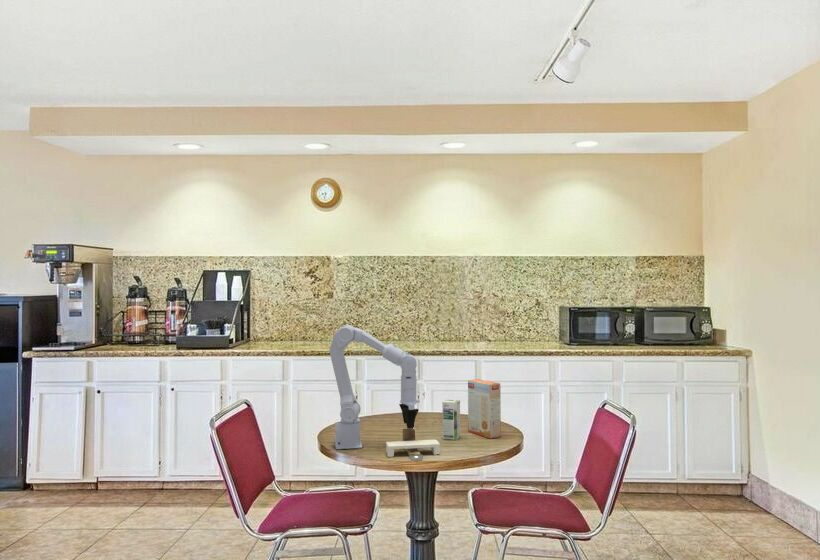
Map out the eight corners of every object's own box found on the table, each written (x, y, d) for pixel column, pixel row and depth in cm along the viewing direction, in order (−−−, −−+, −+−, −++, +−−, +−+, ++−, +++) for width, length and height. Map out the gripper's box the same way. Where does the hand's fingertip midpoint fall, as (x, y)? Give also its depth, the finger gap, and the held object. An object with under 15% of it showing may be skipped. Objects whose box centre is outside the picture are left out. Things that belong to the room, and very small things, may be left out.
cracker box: (501, 437, 214) (501, 383, 215) (489, 439, 211) (489, 384, 212) (479, 429, 227) (479, 378, 227) (467, 431, 223) (467, 379, 224)
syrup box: (442, 439, 212) (441, 401, 212) (446, 435, 218) (446, 398, 218) (456, 440, 210) (456, 402, 210) (460, 436, 216) (460, 399, 216)
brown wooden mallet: (409, 457, 189) (409, 439, 189) (402, 445, 204) (402, 428, 204) (420, 456, 189) (420, 439, 189) (413, 444, 204) (413, 428, 205)
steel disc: (411, 462, 184) (411, 457, 184) (408, 458, 188) (408, 454, 188) (424, 461, 185) (423, 457, 185) (421, 457, 189) (421, 453, 189)
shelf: (388, 457, 189) (388, 446, 189) (386, 452, 195) (386, 441, 195) (439, 454, 192) (439, 444, 192) (436, 449, 198) (436, 439, 198)
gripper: (422, 391, 196) (422, 430, 196) (416, 384, 210) (416, 420, 210) (403, 391, 195) (403, 430, 195) (397, 385, 209) (397, 421, 209)
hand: (408, 425), depth 202 cm, fingers open, 7 cm apart
